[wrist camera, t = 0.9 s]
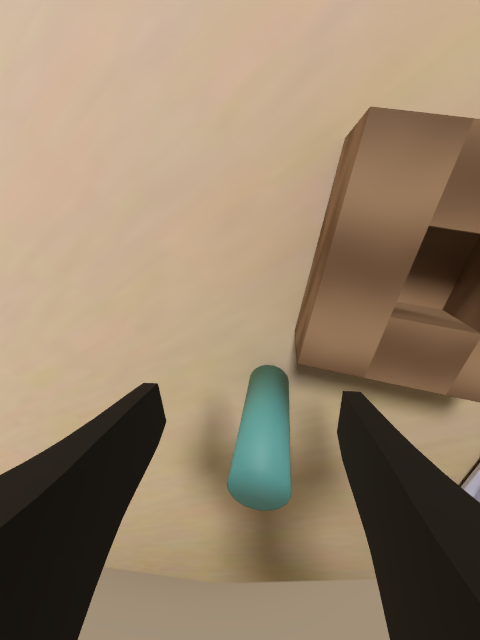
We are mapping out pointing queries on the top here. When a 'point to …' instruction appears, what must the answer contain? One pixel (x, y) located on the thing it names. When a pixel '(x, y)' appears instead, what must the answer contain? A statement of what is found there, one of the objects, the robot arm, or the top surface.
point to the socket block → (400, 257)
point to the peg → (263, 443)
